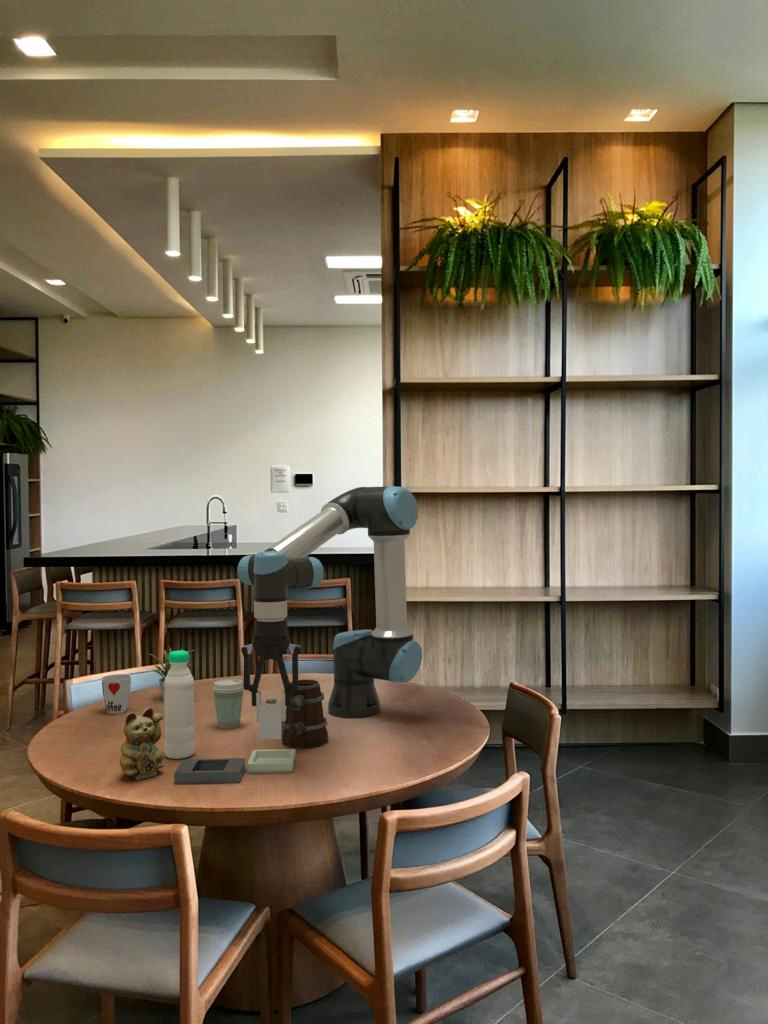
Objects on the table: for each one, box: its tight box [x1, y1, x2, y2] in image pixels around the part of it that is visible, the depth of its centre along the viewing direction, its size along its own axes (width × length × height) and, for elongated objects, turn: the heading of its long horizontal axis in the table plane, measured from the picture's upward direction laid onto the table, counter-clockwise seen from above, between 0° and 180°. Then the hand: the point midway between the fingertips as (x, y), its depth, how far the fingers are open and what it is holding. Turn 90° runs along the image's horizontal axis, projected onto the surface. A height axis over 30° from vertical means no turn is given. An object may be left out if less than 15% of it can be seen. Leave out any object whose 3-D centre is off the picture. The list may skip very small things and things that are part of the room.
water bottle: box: [163, 650, 196, 760], centre depth 191 cm, size 7×7×25 cm
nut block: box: [258, 698, 284, 740], centre depth 183 cm, size 5×5×8 cm
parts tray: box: [246, 748, 296, 775], centre depth 183 cm, size 10×10×2 cm
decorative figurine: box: [119, 707, 165, 781], centre depth 178 cm, size 10×8×15 cm
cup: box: [101, 673, 132, 715], centre depth 231 cm, size 8×8×10 cm
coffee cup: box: [212, 678, 244, 730], centre depth 216 cm, size 8×9×12 cm
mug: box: [281, 678, 329, 749], centre depth 199 cm, size 16×12×15 cm
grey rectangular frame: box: [173, 757, 246, 785], centre depth 177 cm, size 14×9×2 cm, turn 92°
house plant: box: [149, 646, 195, 702], centre depth 245 cm, size 14×14×16 cm
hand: (271, 719), depth 183 cm, fingers closed on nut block, 5 cm apart
